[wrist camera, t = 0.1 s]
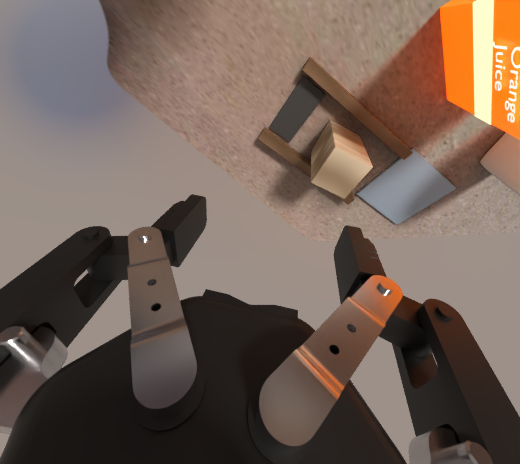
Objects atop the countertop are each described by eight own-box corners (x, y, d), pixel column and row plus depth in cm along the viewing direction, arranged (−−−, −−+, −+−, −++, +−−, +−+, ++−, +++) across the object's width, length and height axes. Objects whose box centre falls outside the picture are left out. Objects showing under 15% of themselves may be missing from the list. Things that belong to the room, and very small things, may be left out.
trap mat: (303, 75, 26) (303, 75, 26) (325, 94, 27) (325, 95, 26) (269, 126, 30) (269, 127, 30) (289, 141, 31) (289, 142, 31)
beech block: (330, 119, 28) (335, 147, 22) (359, 135, 29) (372, 167, 23) (311, 150, 31) (310, 182, 25) (338, 164, 32) (344, 198, 26)
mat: (412, 147, 29) (413, 148, 29) (455, 187, 31) (456, 188, 31) (356, 192, 35) (356, 194, 34) (396, 223, 37) (397, 224, 37)
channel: (310, 56, 25) (309, 58, 23) (409, 148, 29) (413, 153, 28) (260, 134, 31) (258, 138, 30) (346, 198, 36) (347, 204, 35)
